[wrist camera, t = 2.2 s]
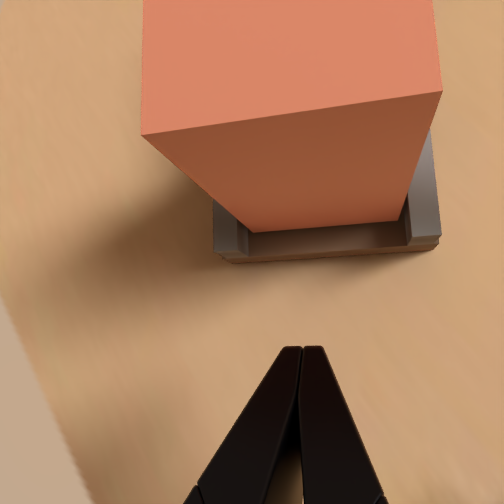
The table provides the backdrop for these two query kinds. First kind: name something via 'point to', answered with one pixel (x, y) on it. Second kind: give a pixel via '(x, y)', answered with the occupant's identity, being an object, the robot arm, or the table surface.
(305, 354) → the robot arm
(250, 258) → the rail housing
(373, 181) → the pink upright rectangular block
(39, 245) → the table surface
